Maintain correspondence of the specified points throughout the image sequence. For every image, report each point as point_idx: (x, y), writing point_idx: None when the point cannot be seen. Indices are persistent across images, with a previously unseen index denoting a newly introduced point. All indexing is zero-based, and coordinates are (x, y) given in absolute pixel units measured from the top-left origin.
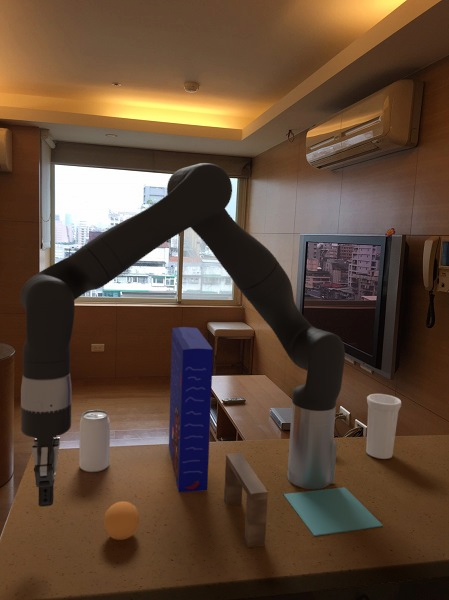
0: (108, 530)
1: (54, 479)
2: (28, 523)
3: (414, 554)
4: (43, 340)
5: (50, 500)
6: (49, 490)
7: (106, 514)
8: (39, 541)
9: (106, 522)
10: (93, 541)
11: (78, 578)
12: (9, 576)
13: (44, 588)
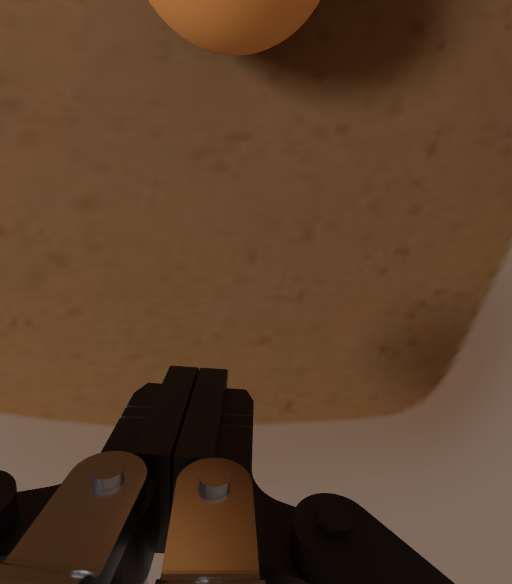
0: (290, 35)
1: (223, 486)
2: (59, 365)
3: None
4: None
5: (226, 394)
6: (250, 458)
7: (230, 21)
8: (185, 328)
9: (272, 34)
10: (239, 121)
11: (448, 199)
12: (348, 409)
13: (450, 311)
